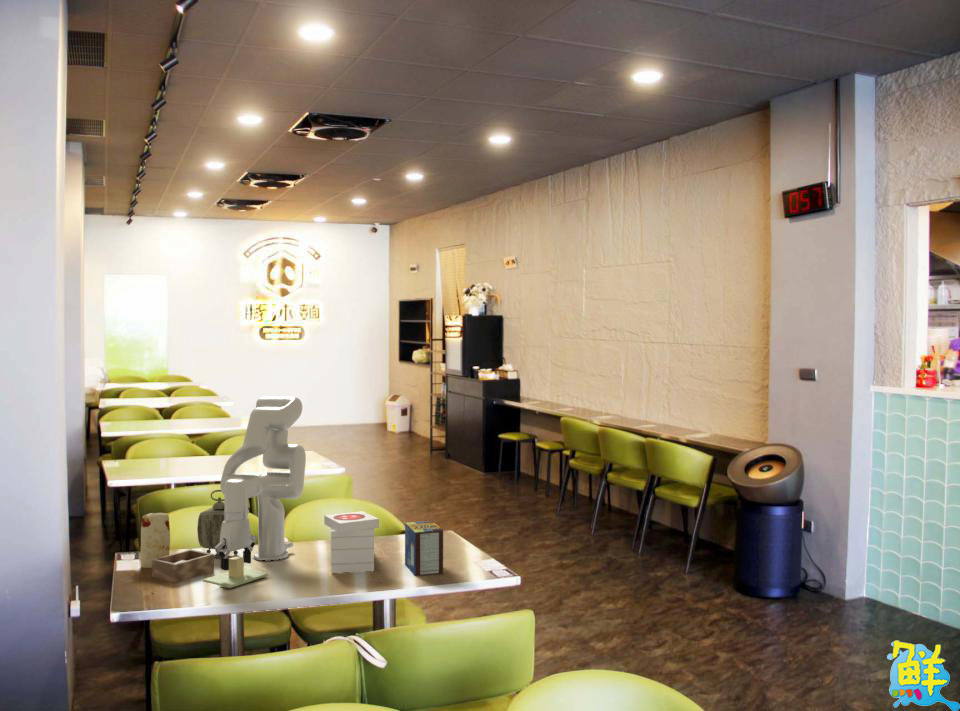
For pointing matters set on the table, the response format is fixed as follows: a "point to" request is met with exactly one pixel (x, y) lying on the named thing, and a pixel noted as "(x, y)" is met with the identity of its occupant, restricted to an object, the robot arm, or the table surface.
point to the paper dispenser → (352, 541)
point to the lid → (236, 574)
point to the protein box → (424, 548)
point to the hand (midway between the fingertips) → (236, 566)
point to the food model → (154, 537)
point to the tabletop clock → (211, 525)
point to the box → (182, 566)
